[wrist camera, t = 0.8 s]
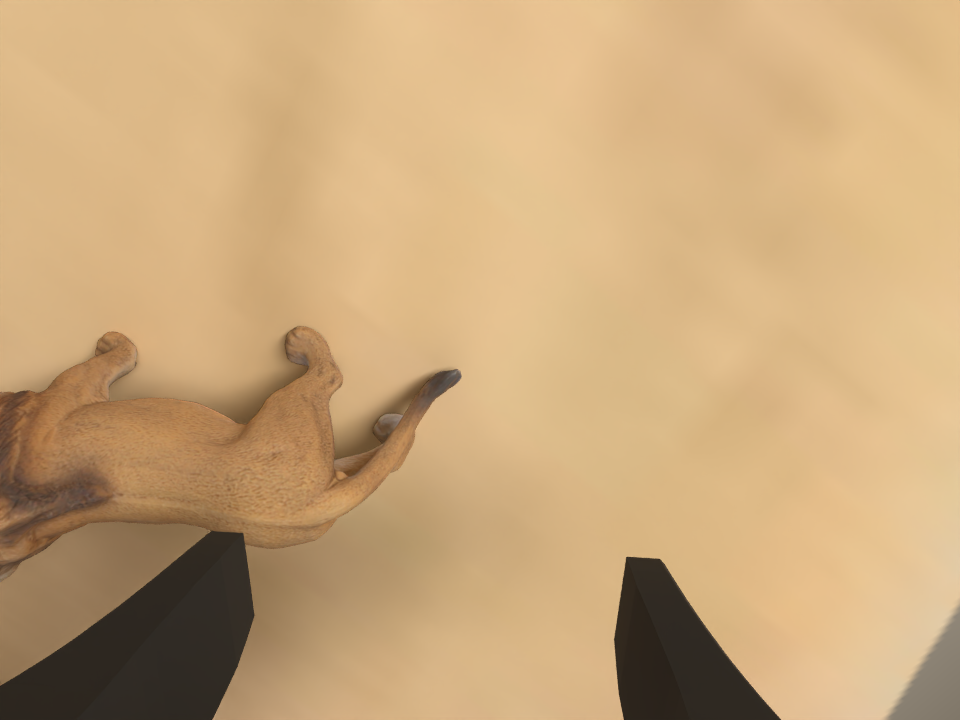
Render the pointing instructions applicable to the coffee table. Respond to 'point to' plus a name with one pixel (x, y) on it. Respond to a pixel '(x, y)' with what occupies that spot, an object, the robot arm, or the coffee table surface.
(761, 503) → the coffee table surface
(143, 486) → the lion figurine
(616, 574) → the coffee table surface
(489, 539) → the coffee table surface
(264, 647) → the coffee table surface
